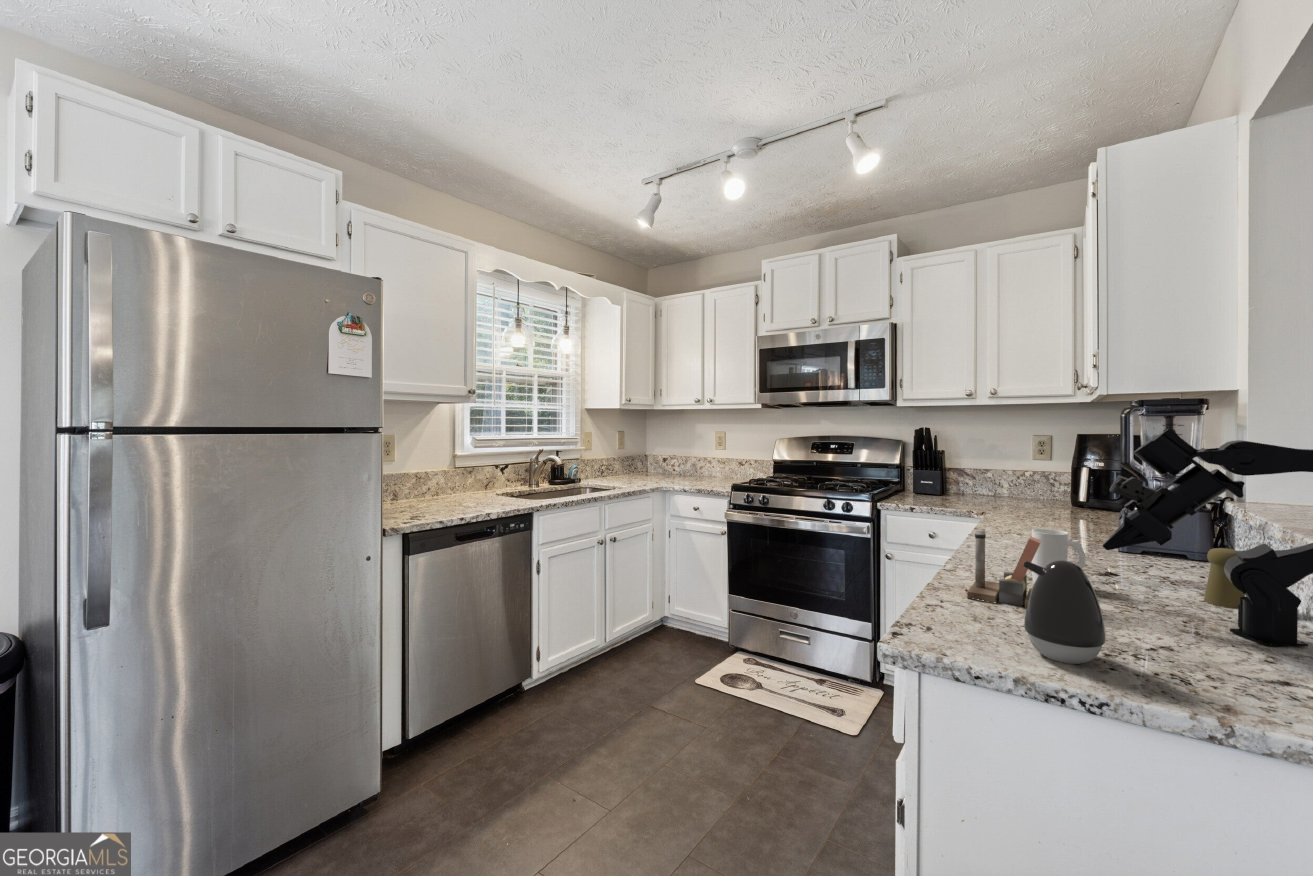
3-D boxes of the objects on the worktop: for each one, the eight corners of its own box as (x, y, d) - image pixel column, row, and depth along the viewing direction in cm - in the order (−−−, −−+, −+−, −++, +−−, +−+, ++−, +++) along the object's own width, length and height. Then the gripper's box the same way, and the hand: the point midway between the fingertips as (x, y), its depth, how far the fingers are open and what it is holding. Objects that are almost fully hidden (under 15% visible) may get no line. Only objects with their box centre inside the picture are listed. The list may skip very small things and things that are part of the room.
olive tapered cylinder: (1227, 599, 113) (1228, 545, 113) (1256, 609, 107) (1257, 552, 107) (1195, 598, 114) (1195, 545, 114) (1222, 608, 108) (1222, 552, 108)
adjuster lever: (1021, 597, 116) (1047, 542, 113) (1018, 602, 113) (1045, 546, 110) (1000, 588, 118) (1025, 533, 115) (997, 592, 115) (1023, 536, 112)
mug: (1025, 583, 126) (1026, 530, 126) (1039, 578, 130) (1039, 527, 129) (1078, 594, 118) (1078, 538, 117) (1090, 588, 121) (1091, 534, 121)
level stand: (1059, 599, 115) (1059, 534, 114) (1055, 613, 106) (1056, 543, 106) (976, 586, 124) (976, 526, 124) (967, 598, 115) (967, 534, 115)
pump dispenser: (1026, 638, 94) (1026, 550, 93) (1105, 654, 87) (1106, 559, 87) (1018, 659, 86) (1019, 562, 86) (1104, 677, 79) (1105, 573, 79)
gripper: (1140, 458, 109) (1069, 509, 116) (1146, 464, 94) (1065, 522, 102) (1194, 501, 104) (1117, 551, 111) (1210, 515, 90) (1120, 571, 97)
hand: (1104, 548), depth 105 cm, fingers closed
